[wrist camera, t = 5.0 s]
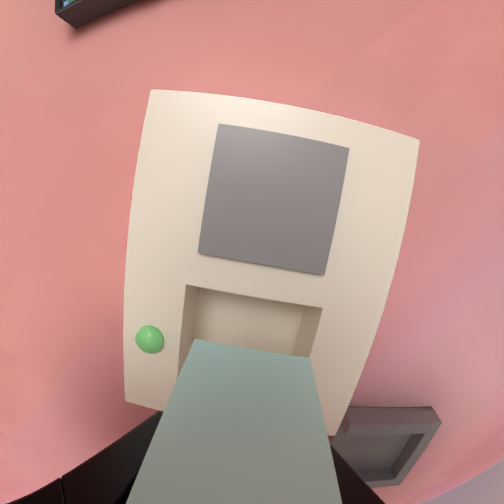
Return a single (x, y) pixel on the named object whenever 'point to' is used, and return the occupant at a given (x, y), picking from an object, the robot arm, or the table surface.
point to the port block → (260, 239)
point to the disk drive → (86, 9)
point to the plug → (239, 433)
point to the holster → (384, 441)
